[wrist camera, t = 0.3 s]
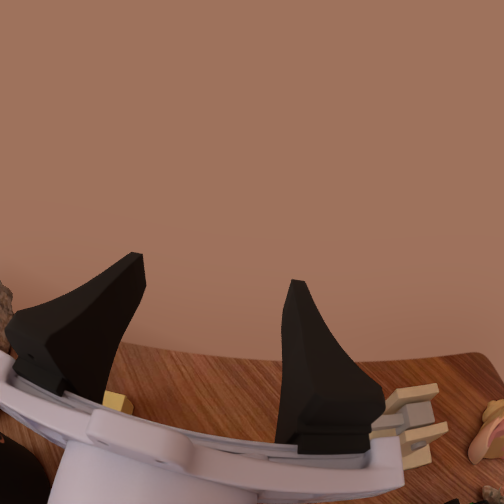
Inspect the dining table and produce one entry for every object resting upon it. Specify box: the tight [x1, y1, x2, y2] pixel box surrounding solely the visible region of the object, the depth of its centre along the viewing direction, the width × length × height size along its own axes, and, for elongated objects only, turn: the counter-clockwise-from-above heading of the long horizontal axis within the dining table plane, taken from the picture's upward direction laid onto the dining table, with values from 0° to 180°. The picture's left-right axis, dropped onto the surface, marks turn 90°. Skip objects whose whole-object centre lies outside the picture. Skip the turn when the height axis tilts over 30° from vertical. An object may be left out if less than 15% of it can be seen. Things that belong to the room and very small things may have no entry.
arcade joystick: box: [371, 401, 435, 436], centre depth 19 cm, size 12×3×3 cm, turn 87°
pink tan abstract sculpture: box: [468, 399, 504, 465], centre depth 18 cm, size 9×10×10 cm
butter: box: [102, 391, 134, 415], centre depth 24 cm, size 6×4×3 cm, turn 177°
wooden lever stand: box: [369, 383, 448, 471], centre depth 21 cm, size 11×8×9 cm
